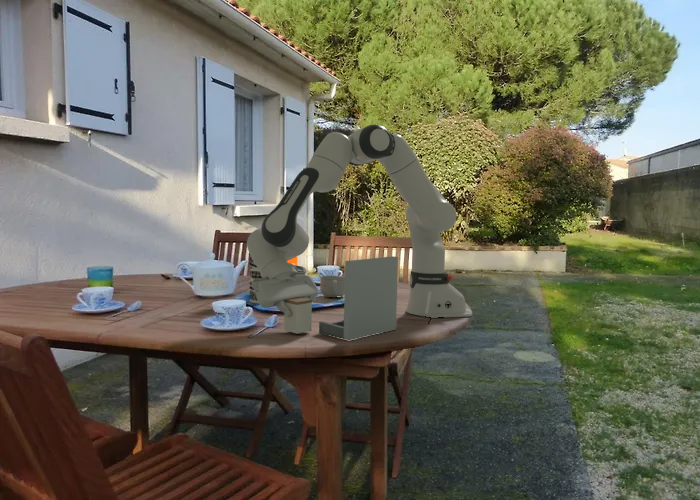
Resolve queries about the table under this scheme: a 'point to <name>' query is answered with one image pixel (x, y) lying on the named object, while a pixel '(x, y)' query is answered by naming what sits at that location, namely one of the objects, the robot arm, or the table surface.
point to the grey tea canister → (298, 315)
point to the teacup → (332, 286)
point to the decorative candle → (254, 274)
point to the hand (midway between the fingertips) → (299, 313)
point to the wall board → (367, 299)
